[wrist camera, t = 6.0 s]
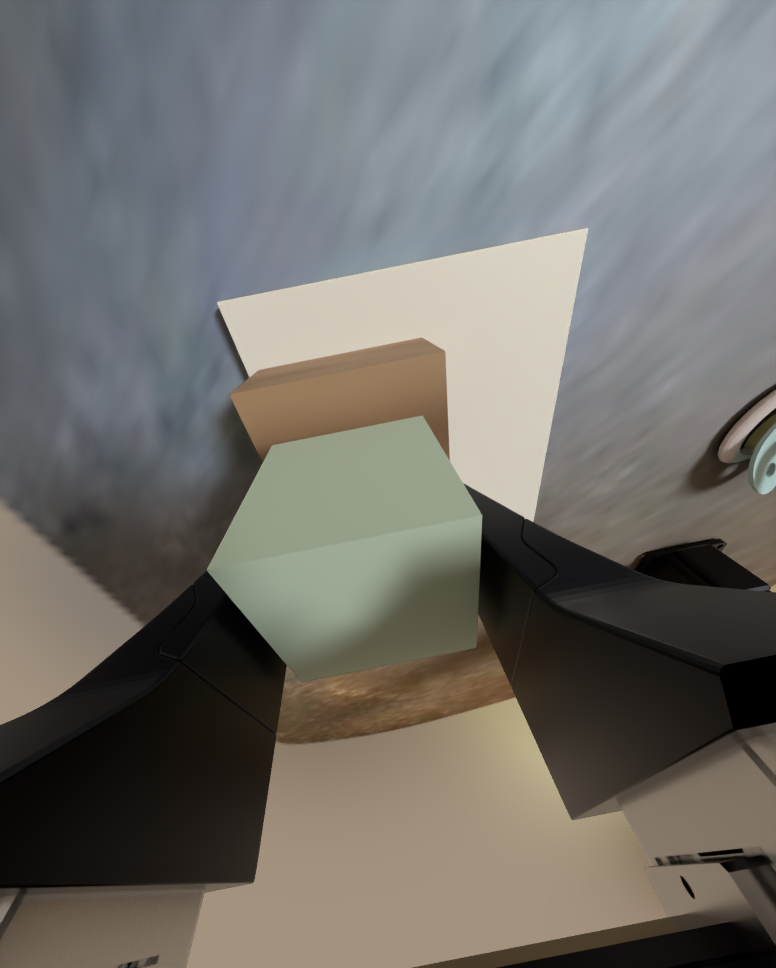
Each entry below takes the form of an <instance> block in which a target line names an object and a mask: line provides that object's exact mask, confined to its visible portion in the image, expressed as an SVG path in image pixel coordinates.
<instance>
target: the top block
mask: <svg viewBox="0 0 776 968" xmlns="http://www.w3.org/2000/svg"><path fill="white" fill-rule="evenodd" d="M481 534H482V514H481V512H480V511H479V509H478V507H477V506H476V504H475V502H474V501H473V499H472V497H471V496H470V494H469V492H468V491H467V489H466V487H465V486H464V484H463V482H462V481H461V479H460V477H459V476H458V474H457V472H456V471H455V469H454V467H453V466H452V464H451V462H450V461H449V459H448V457H447V455H446V454H445V452H444V450H443V449H442V447H441V445H440V444H439V442H438V440H437V439H436V437H435V435H434V434H433V432H432V430H431V429H430V427H429V425H428V424H427V422H426V420H425V419H424V417H423V415H422V416H417V417H412V418H407V419H402V420H397V421H392V422H387V423H382V424H377V425H372V426H367V427H362V428H357V429H352V430H347V431H342V432H337V433H332V434H327V435H322V436H316V437H311V438H306V439H301V440H296V441H291V442H286V443H281V444H276V445H272V446H271V448H270V450H269V452H268V454H267V456H266V458H265V460H264V462H263V463H262V465H261V467H260V469H259V471H258V473H257V475H256V477H255V479H254V481H253V483H252V484H251V486H250V488H249V490H248V492H247V494H246V496H245V498H244V500H243V502H242V503H241V505H240V507H239V509H238V511H237V513H236V515H235V517H234V519H233V521H232V523H231V524H230V526H229V528H228V530H227V532H226V534H225V536H224V538H223V540H222V542H221V543H220V545H219V547H218V549H217V551H216V553H215V555H214V557H213V559H212V561H211V563H210V564H209V566H208V568H207V571H208V572H209V574H210V575H211V576H212V577H213V578H214V580H215V581H216V582H217V583H218V584H219V585H220V587H221V588H222V589H223V590H224V591H225V593H226V594H227V595H228V596H229V597H230V598H231V600H232V601H233V602H234V603H235V604H236V606H237V607H238V608H239V609H240V610H241V612H242V613H243V614H244V615H245V616H246V617H247V619H248V620H249V621H250V622H251V623H252V625H253V626H254V627H255V628H256V629H257V630H258V632H259V633H260V634H261V635H262V636H263V638H264V639H265V640H266V641H267V642H268V644H269V645H270V646H271V647H272V648H273V649H274V651H275V652H276V653H277V654H278V655H279V657H280V658H281V659H282V660H283V661H284V662H285V664H286V665H287V666H288V667H289V668H290V670H291V671H292V672H293V673H294V674H295V676H296V677H297V678H298V679H299V680H300V681H301V683H302V682H307V681H312V680H317V679H322V678H327V677H332V676H337V675H342V674H347V673H352V672H357V671H362V670H367V669H372V668H377V667H383V666H388V665H393V664H398V663H403V662H408V661H413V660H418V659H423V658H428V657H433V656H438V655H443V654H448V653H453V652H458V651H463V650H468V649H474V648H477V625H478V602H479V579H480V557H481Z"/></svg>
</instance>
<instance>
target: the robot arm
mask: <svg viewBox="0 0 776 968" xmlns="http://www.w3.org/2000/svg"><path fill="white" fill-rule="evenodd" d="M463 484H464V483H463ZM464 486H465V487H466V489H467V491H468V492H469V494H470V496H471V497H472V499H473V501H474V502H475V504H476V506H477V507H478V509H479V511H480V512H481V514H482V534H481V557H480V579H479V602H478V614H479V616H480V619H481V621H482V623H483V625H484V627H485V630H486V632H487V634H488V636H489V639H490V641H491V643H492V645H493V647H494V650H495V652H496V654H497V656H498V658H499V661H500V663H501V665H502V667H503V669H504V672H505V674H506V676H507V678H508V681H509V683H510V685H511V686H512V690H513V692H514V694H515V696H516V698H517V701H518V703H519V705H520V707H521V710H522V712H523V714H524V716H525V718H526V720H527V723H528V725H529V727H530V729H531V732H532V734H533V736H534V738H535V740H536V743H537V745H538V747H539V749H540V752H541V753H542V756H543V758H544V760H545V763H546V765H547V767H548V769H549V771H550V774H551V776H552V778H553V780H554V783H555V785H556V787H557V789H558V791H559V794H560V796H561V798H562V800H563V802H564V805H565V807H566V809H567V811H568V813H569V815H570V817H571V819H572V820H576V819H581V818H586V817H591V816H596V815H601V814H606V813H612V812H617V811H623V813H624V815H625V817H626V819H627V821H628V822H629V825H630V826H631V828H632V830H633V832H634V834H635V836H636V838H637V840H638V842H639V843H640V845H641V847H642V849H643V851H644V853H645V855H646V857H647V859H648V861H649V862H650V864H651V866H650V867H645V871H646V874H647V876H648V878H649V880H650V882H651V884H652V886H653V888H654V890H655V892H656V894H657V896H658V898H659V900H660V902H661V903H662V906H663V908H664V909H665V911H666V913H667V915H668V917H667V918H663V919H657V920H652V921H647V922H642V923H637V924H632V925H627V926H622V927H617V928H612V929H607V930H601V931H597V932H591V933H586V934H581V935H576V936H571V937H566V938H561V939H556V940H551V941H546V942H541V943H535V944H530V945H525V946H520V947H515V948H510V949H505V950H500V951H495V952H490V953H485V954H479V955H474V956H469V957H464V958H459V959H454V960H449V961H444V962H439V963H434V964H428V965H423V966H419V967H413V968H776V593H775V592H771V591H770V589H771V587H770V586H769V585H768V584H767V583H765V582H764V581H763V580H761V579H760V578H758V577H757V576H755V575H754V574H752V573H751V572H750V571H748V570H747V569H745V568H744V567H742V566H741V565H739V564H738V563H737V562H735V561H734V560H732V559H731V558H729V557H728V556H726V555H725V554H724V553H722V552H721V551H722V550H723V549H724V547H725V546H726V545H727V543H726V542H724V541H723V540H721V539H716V540H711V541H706V542H701V543H696V544H691V545H686V546H681V547H676V548H671V549H666V550H661V551H656V552H651V553H649V554H647V555H646V556H645V557H644V559H643V561H642V563H641V564H640V566H639V568H638V570H637V571H635V570H632V569H630V568H628V567H626V566H623V565H621V564H619V563H617V562H615V561H612V560H610V559H608V558H606V557H604V556H602V555H599V554H597V553H595V552H593V551H591V550H588V549H586V548H584V547H582V546H580V545H577V544H575V543H573V542H571V541H569V540H567V539H565V538H563V537H561V536H559V535H557V534H555V533H553V532H551V531H549V530H547V529H545V528H543V527H541V526H539V525H538V524H536V523H534V522H532V521H530V520H529V519H525V518H524V517H523V516H521V515H519V514H518V513H516V512H514V511H512V510H511V509H509V508H507V507H505V506H503V505H502V504H500V503H498V502H496V501H494V500H493V499H491V498H489V497H487V496H486V495H484V494H482V493H480V492H478V491H477V490H475V489H473V488H471V487H469V486H468V485H466V484H464ZM524 519H525V520H524ZM286 666H287V665H286V664H285V662H284V661H283V660H282V659H281V658H280V657H279V655H278V654H277V653H276V652H275V651H274V649H273V648H272V647H271V646H270V645H269V644H268V642H267V641H266V640H265V639H264V638H263V636H262V635H261V634H260V633H259V632H258V630H257V629H256V628H255V627H254V626H253V625H252V623H251V622H250V621H249V620H248V619H247V617H246V616H245V615H244V614H243V613H242V612H241V610H240V609H239V608H238V607H237V606H236V604H235V603H234V602H233V601H232V600H231V598H230V597H229V596H228V595H227V594H226V593H225V591H224V590H223V589H222V588H221V587H220V585H219V584H218V583H217V582H216V581H215V580H214V578H213V577H212V576H211V575H210V574H209V572H208V571H206V572H205V573H204V574H203V575H202V576H201V577H199V578H198V579H197V580H196V581H195V582H194V585H191V586H190V587H189V588H187V589H186V590H185V591H184V592H183V593H182V594H181V595H180V596H179V597H178V598H177V599H176V600H174V601H173V602H172V603H171V604H170V605H169V606H168V607H167V608H166V609H164V610H163V611H162V612H161V613H160V614H159V615H158V616H156V617H155V618H154V619H153V620H152V621H150V622H149V623H148V624H147V625H146V626H145V627H143V628H142V629H141V630H140V631H139V632H137V633H136V634H135V635H134V636H133V637H132V638H130V639H129V640H128V641H127V642H125V643H124V644H123V645H122V646H121V647H119V648H118V649H117V650H116V651H115V652H113V653H112V654H111V655H110V656H109V657H107V658H106V659H105V660H104V661H103V662H101V663H100V664H99V665H98V666H97V667H95V668H94V669H93V670H92V671H91V672H90V673H88V674H87V675H86V676H85V677H83V678H82V679H81V680H80V681H78V682H77V683H76V684H75V685H73V686H72V687H71V688H69V689H68V690H66V691H65V692H64V693H62V694H61V695H59V696H58V697H56V698H54V699H53V700H51V701H49V702H48V703H46V704H44V705H43V706H41V707H39V708H37V709H35V710H33V711H31V712H29V713H27V714H25V715H23V716H21V717H18V718H16V719H14V720H11V721H9V722H7V723H4V724H2V725H0V968H186V966H187V962H188V957H189V954H190V949H191V946H192V941H193V937H194V933H195V929H196V925H197V921H198V917H199V913H200V909H201V905H202V901H203V897H204V893H206V892H211V891H216V890H221V889H226V888H231V887H236V886H241V885H246V884H251V883H253V882H254V879H255V874H256V868H257V862H258V855H259V849H260V842H261V835H262V829H263V822H264V815H265V808H266V802H267V795H268V788H269V782H270V775H271V768H272V762H273V755H274V748H275V742H276V734H275V733H276V732H277V727H278V720H279V713H280V707H281V700H282V693H283V687H284V680H285V673H286Z"/></svg>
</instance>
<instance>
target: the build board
mask: <svg viewBox="0 0 776 968" xmlns="http://www.w3.org/2000/svg"><path fill="white" fill-rule="evenodd" d="M587 232H588V228H585V229H580V230H575V231H570V232H565V233H561V234H556V235H551V236H546V237H541V238H536V239H531V240H526V241H521V242H516V243H511V244H506V245H501V246H496V247H491V248H486V249H481V250H476V251H471V252H466V253H461V254H456V255H451V256H446V257H441V258H436V259H431V260H426V261H421V262H416V263H411V264H406V265H401V266H396V267H391V268H386V269H381V270H376V271H371V272H366V273H361V274H356V275H351V276H346V277H341V278H336V279H331V280H326V281H321V282H316V283H311V284H306V285H301V286H296V287H291V288H286V289H281V290H276V291H271V292H266V293H261V294H256V295H251V296H246V297H241V298H236V299H231V300H226V301H221V302H217V304H218V306H219V309H220V311H221V313H222V316H223V318H224V320H225V322H226V325H227V327H228V329H229V332H230V334H231V336H232V339H233V341H234V343H235V345H236V348H237V350H238V352H239V355H240V357H241V359H242V362H243V364H244V366H245V368H246V371H247V373H248V375H249V378H250V377H251V376H252V375H253V374H255V373H256V372H257V371H258V370H261V369H266V368H271V367H276V366H281V365H286V364H291V363H296V362H301V361H306V360H311V359H316V358H321V357H326V356H331V355H336V354H341V353H346V352H351V351H356V350H361V349H366V348H371V347H376V346H381V345H386V344H391V343H396V342H401V341H406V340H411V339H416V338H421V337H422V338H424V339H426V340H427V341H429V342H431V343H432V344H434V345H436V346H437V347H439V348H441V349H443V350H444V351H445V355H446V380H447V404H448V429H449V454H450V462H451V464H452V466H453V467H454V469H455V471H456V472H457V474H458V476H459V477H460V479H461V481H462V482H463V483H464V484H466V485H468V486H469V487H471V488H473V489H475V490H477V491H478V492H480V493H482V494H484V495H486V496H487V497H489V498H491V499H493V500H494V501H496V502H498V503H500V504H502V505H503V506H505V507H507V508H509V509H511V510H512V511H514V512H516V513H518V514H519V515H521V516H523V517H524V518H525V519H529V520H530V521H532V522H533V520H534V515H535V510H536V504H537V499H538V494H539V488H540V483H541V478H542V472H543V467H544V461H545V456H546V451H547V445H548V440H549V435H550V429H551V424H552V419H553V413H554V408H555V403H556V397H557V392H558V387H559V381H560V376H561V371H562V365H563V360H564V355H565V349H566V344H567V339H568V333H569V328H570V323H571V317H572V312H573V307H574V301H575V296H576V291H577V285H578V280H579V275H580V269H581V264H582V259H583V253H584V248H585V243H586V237H587ZM525 519H524V520H525Z"/></svg>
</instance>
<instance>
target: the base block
mask: <svg viewBox="0 0 776 968" xmlns="http://www.w3.org/2000/svg"><path fill="white" fill-rule="evenodd" d="M229 395H230V397H231V399H232V401H233V403H234V405H235V408H236V410H237V412H238V414H239V416H240V418H241V420H242V422H243V424H244V426H245V428H246V430H247V432H248V434H249V436H250V438H251V440H252V442H253V444H254V446H255V448H256V450H257V452H258V454H259V456H260V458H261V460H262V462H264V460H265V458H266V456H267V454H268V452H269V450H270V448H271V446H272V445H276V444H281V443H286V442H291V441H296V440H301V439H306V438H311V437H316V436H322V435H327V434H332V433H337V432H342V431H347V430H352V429H357V428H362V427H367V426H372V425H377V424H382V423H387V422H392V421H397V420H402V419H407V418H412V417H417V416H422V415H423V417H424V419H425V420H426V422H427V424H428V425H429V427H430V429H431V430H432V432H433V434H434V435H435V437H436V439H437V440H438V442H439V444H440V445H441V447H442V449H443V450H444V452H445V454H446V455H447V457H448V459H449V461H450V454H449V429H448V404H447V380H446V355H445V351H444V350H443V349H441V348H439V347H437V346H436V345H434V344H432V343H431V342H429V341H427V340H426V339H424V338H422V337H421V338H416V339H411V340H406V341H401V342H396V343H391V344H386V345H381V346H376V347H371V348H366V349H361V350H356V351H351V352H346V353H341V354H336V355H331V356H326V357H321V358H316V359H311V360H306V361H301V362H296V363H291V364H286V365H281V366H276V367H271V368H266V369H261V370H258V371H257V372H256V373H255V374H253V375H252V376H251V377H250V378H248V379H247V380H246V381H245V382H244V383H242V384H241V385H240V386H239V387H238V388H236V389H235V390H234V391H233V392H231V393H230V394H229Z"/></svg>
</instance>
